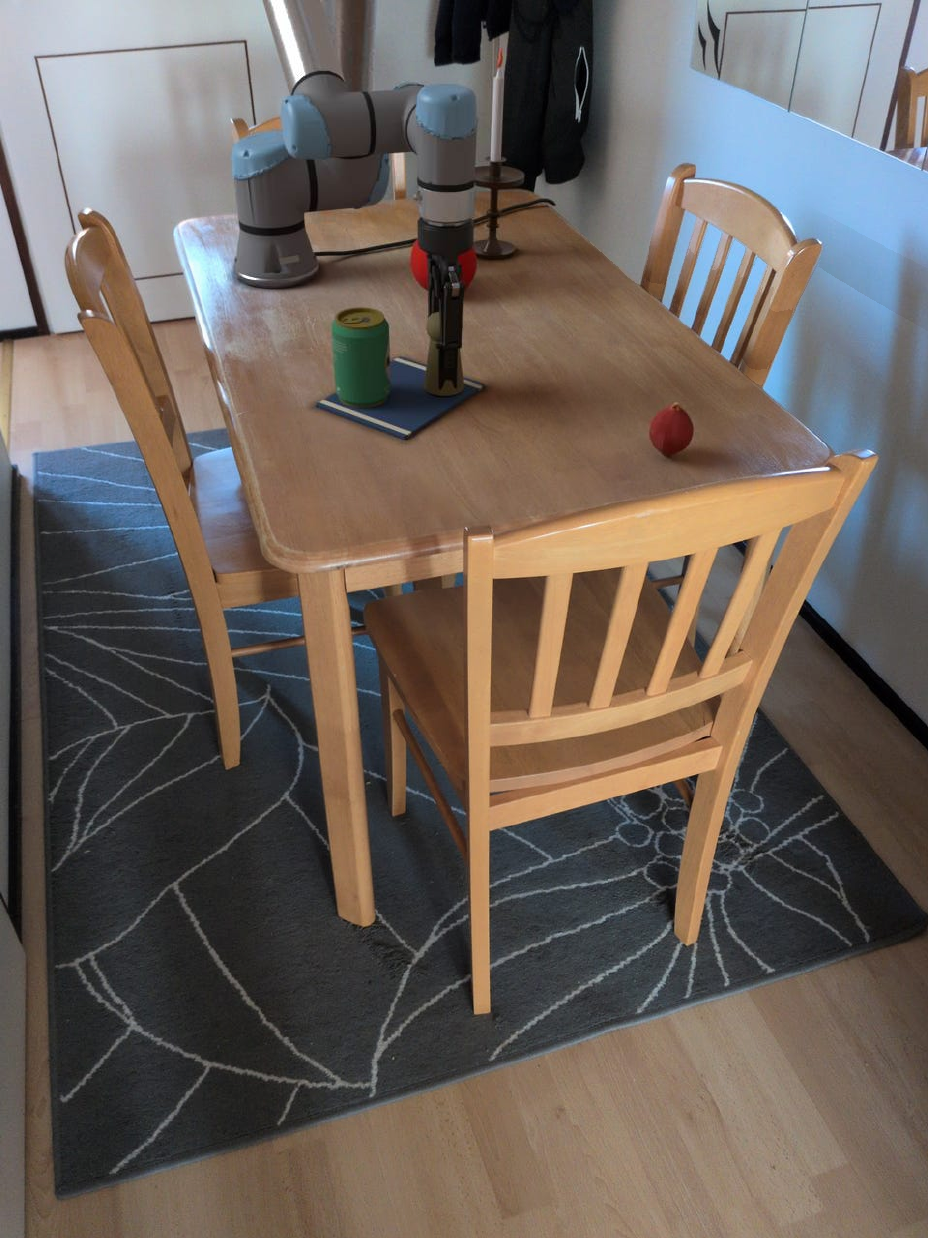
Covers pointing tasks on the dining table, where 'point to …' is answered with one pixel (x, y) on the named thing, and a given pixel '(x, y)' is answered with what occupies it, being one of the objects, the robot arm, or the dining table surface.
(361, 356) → the beverage can
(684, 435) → the onion
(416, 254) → the tomato
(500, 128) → the candlestick
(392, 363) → the towel
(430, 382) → the olive game pawn
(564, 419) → the dining table surface
